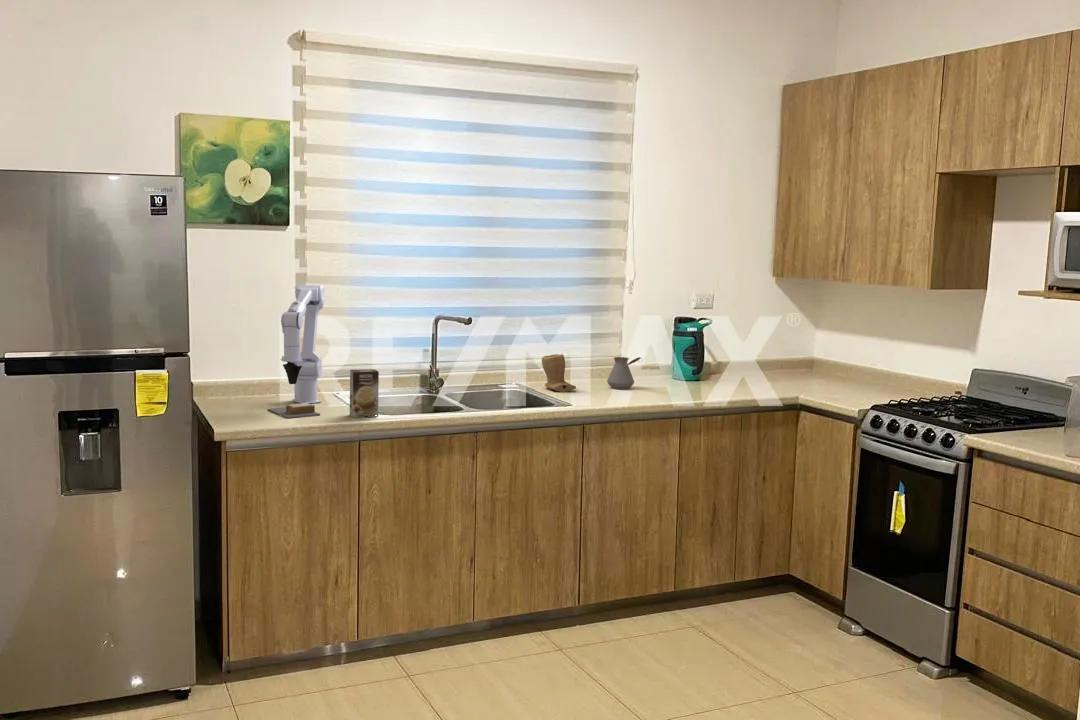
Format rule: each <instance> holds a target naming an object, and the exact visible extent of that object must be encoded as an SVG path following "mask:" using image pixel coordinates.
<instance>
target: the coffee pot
mask: <svg viewBox="0 0 1080 720" xmlns="http://www.w3.org/2000/svg"><path fill="white" fill-rule="evenodd" d="M629 359H630V358H629V357H626V356H616V357H613V360H614V365H613V366H612V369H611V371H610V374H609V375H608V377H607V380H606V382H607V384H608V386H610V387H611V389H614V390H629V389H630V388H631V387H632V386H633V385H634V383H635V379H634V377H633V374H632V373H631V370H630V365H632V364H634V363H636V362H638V363H642V362H643V358H642V357H636V358H634V359H632V360H631V361H629V362H628V360H629ZM640 359H641V361H639V360H640Z"/></svg>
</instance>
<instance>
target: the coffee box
mask: <svg viewBox="0 0 1080 720" xmlns="http://www.w3.org/2000/svg"><path fill="white" fill-rule="evenodd" d="M379 378H380V372H379V370H377V369H372V368H371V369H367V368H366V369H350V370H349V415H350V416H351V417H352V418H365V417H364V416H375V415H377V417H379V389H380V388H379V386H380V385H379V382H380V381H379Z"/></svg>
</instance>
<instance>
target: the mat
mask: <svg viewBox="0 0 1080 720" xmlns="http://www.w3.org/2000/svg"><path fill="white" fill-rule="evenodd" d="M267 411H268V412H270V411H271V412H270V413H273V414H275V413H276V414H275V415H278V416H280V415H281V417H282V416H283V418H285V419H287V418H289V419H296V418H307V417H318V416H321V413H319V412H317V411H315V413H307V414H296V415H292V414H290V413H287V412H286V406H285V407H284V406H283V407H272V408H267Z"/></svg>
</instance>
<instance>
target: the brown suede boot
mask: <svg viewBox="0 0 1080 720" xmlns="http://www.w3.org/2000/svg"><path fill="white" fill-rule="evenodd" d="M565 358H566V357H565V355H564V354H563V353H561V354H557V353H556V354H550V355H544V356H542V357H541V365H542V369H543V371H544V373H545V377H546V378H547V382H545V384H544V387H545V388H548V389H551V390H554V391H557V392H561V393H566V392H567V393H568V392H571V391H573V390H576V389H577V387H576V385H574V384H571V383H569V382H566V381H565V372H566V359H565Z"/></svg>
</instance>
